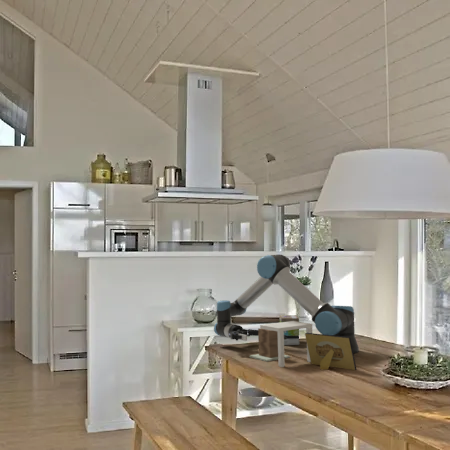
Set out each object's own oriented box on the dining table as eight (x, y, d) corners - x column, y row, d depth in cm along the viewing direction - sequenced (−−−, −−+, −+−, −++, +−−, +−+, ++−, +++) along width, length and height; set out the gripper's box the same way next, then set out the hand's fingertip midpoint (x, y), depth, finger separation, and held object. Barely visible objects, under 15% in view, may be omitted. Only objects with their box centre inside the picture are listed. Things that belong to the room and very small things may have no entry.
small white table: (261, 362, 288) (260, 325, 289) (294, 356, 299) (293, 320, 299) (280, 367, 276) (279, 328, 276) (314, 361, 287) (313, 324, 287)
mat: (249, 357, 302) (249, 355, 302) (272, 353, 309) (272, 351, 309) (266, 361, 290) (266, 359, 290) (289, 357, 297) (289, 356, 297)
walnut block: (258, 355, 302) (258, 328, 302) (268, 353, 305) (267, 327, 305) (269, 357, 294) (269, 330, 294) (279, 356, 297) (279, 329, 298)
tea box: (300, 345, 331) (299, 317, 332) (281, 345, 332) (280, 318, 332) (297, 340, 346) (296, 314, 347) (279, 340, 347) (278, 314, 347)
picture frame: (356, 369, 267) (353, 335, 266) (345, 375, 261) (342, 340, 260) (312, 363, 283) (309, 331, 282) (301, 368, 276) (298, 336, 275)
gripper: (253, 336, 332) (277, 341, 314) (214, 341, 319) (237, 346, 301) (253, 322, 332) (277, 326, 314) (214, 327, 319) (236, 331, 301)
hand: (257, 336), depth 307 cm, fingers open, 13 cm apart
